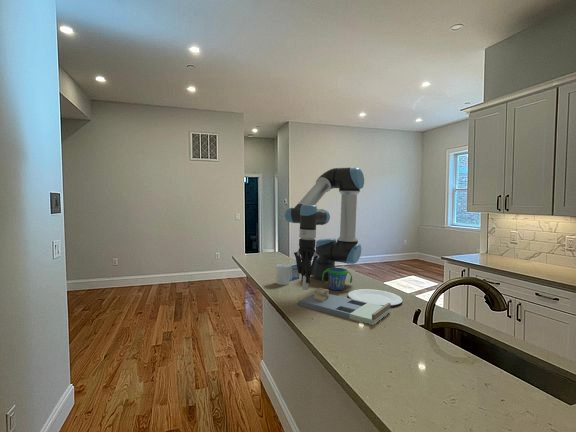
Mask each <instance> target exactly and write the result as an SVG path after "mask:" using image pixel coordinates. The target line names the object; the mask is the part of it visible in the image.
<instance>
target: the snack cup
mask: <svg viewBox="0 0 576 432" xmlns="http://www.w3.org/2000/svg"><path fill="white" fill-rule="evenodd" d="M325 272H328V280H327V281H328V288H329V289H330V290H332V291H333V290H334V291H342V290H344V289H345V285H346V284H345V283H346V279H347V276H348V274H349V275H350V280H349V283H350V284H352V282H353V275H352V273H351V272H350V271H349V270H348V269H346V268H342V267H335V268H328V269H327V270H325V271H324V272H323V274H322V280H321V281H322V282H323V283H324V281H325V280H323V278H324V273H325Z"/></svg>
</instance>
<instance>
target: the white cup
mask: <svg viewBox="0 0 576 432" xmlns="http://www.w3.org/2000/svg"><path fill="white" fill-rule="evenodd" d="M289 264H290V263H289ZM289 264H287V263H279V264H276V265H275V270H276V271H275V273H276V275H275V276H276V284H277V285H278V286H279V285H281V286H286V285H289V284H290V280H289V278H290V267H291V265H289Z"/></svg>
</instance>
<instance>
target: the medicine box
mask: <svg viewBox="0 0 576 432" xmlns="http://www.w3.org/2000/svg"><path fill="white" fill-rule="evenodd" d="M289 265H291V267H290V278H289V281H291V280H292V281H295V280H297V278H298V279H300V277H301V276H300V275H301V274H300V273H298V269H297V263H296V262H292V263H289ZM294 279H295V280H294Z"/></svg>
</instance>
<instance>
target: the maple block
mask: <svg viewBox="0 0 576 432" xmlns="http://www.w3.org/2000/svg"><path fill="white" fill-rule="evenodd" d="M314 294H315V297H314V299H317V300H321V301H324V300H327V299H328V294H330V293H329V289H327V288H323V287H319V288H316V289H314Z"/></svg>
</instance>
